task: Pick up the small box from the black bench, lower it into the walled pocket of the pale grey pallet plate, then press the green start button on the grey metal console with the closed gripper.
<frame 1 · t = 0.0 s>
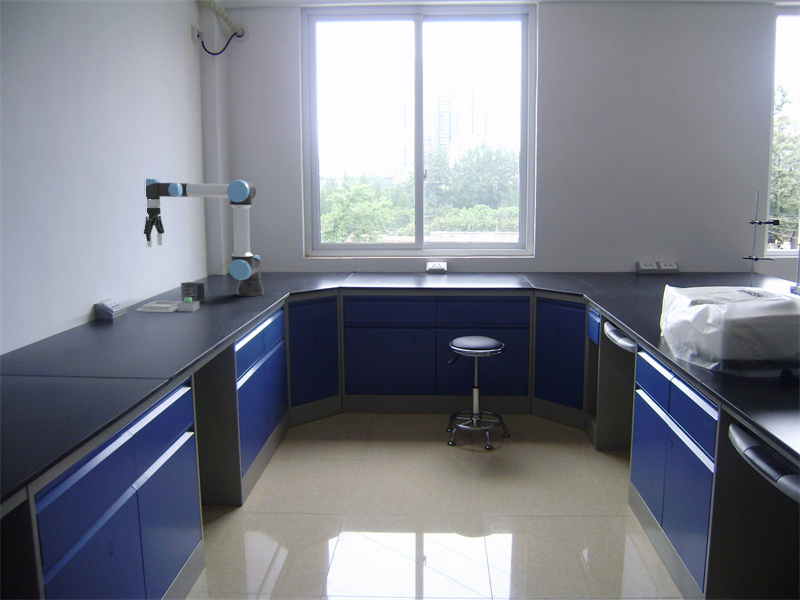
hand: (154, 246, 345), 28 cm above the worktop, fingers open, 13 cm apart
button: (188, 301, 309), point 4 cm above the worktop, slide at 0.0 cm
pallet: (162, 308, 313), on the worktop
small box: (193, 302, 332), on the worktop
console: (188, 309, 310), on the worktop
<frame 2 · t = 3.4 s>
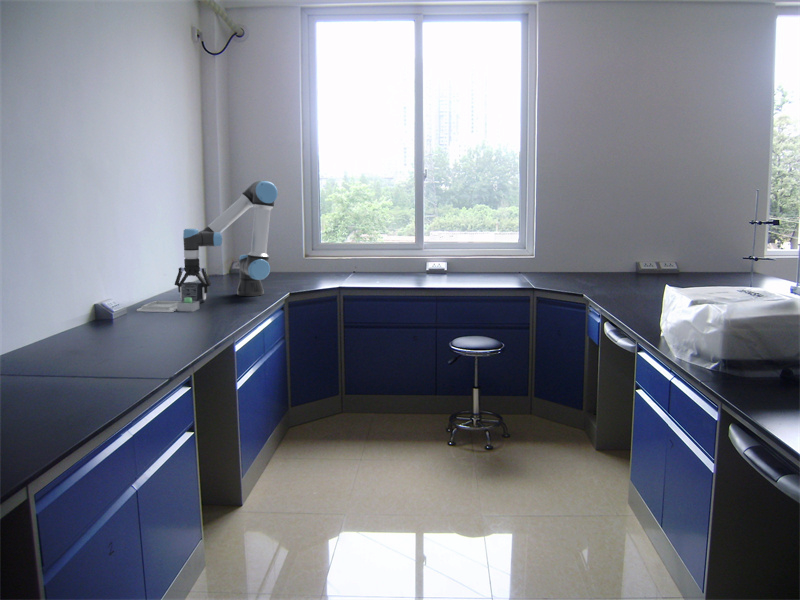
hand: (193, 298, 332), 2 cm above the worktop, fingers closed on small box, 11 cm apart
small box: (193, 302, 332), on the worktop, touching gripper
everything else where it was.
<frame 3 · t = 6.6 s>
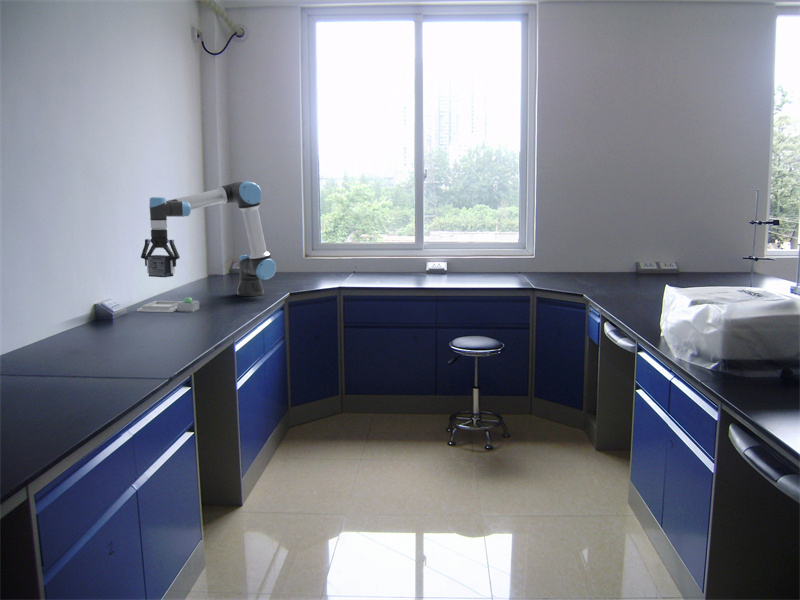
hand: (161, 273, 310), 18 cm above the worktop, fingers closed on small box, 11 cm apart
small box: (161, 276, 310), point 16 cm above the worktop, touching gripper
everything else where it was.
when the fingers open (5 cm above the worktop, at t = 9.6 s): small box drops 2 cm, resting on pallet.
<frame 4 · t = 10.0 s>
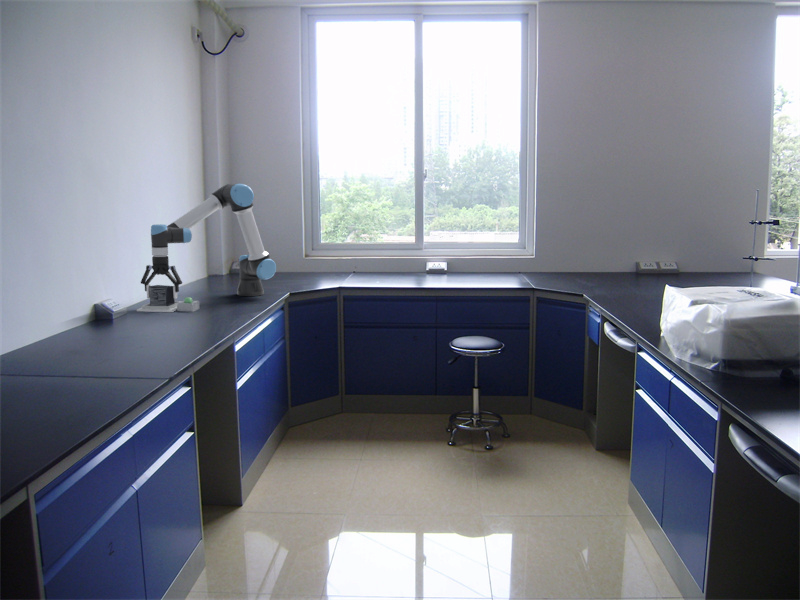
hand: (162, 298, 312), 5 cm above the worktop, fingers open, 13 cm apart
small box: (162, 306, 313), point 1 cm above the worktop, touching pallet
everything else where it was.
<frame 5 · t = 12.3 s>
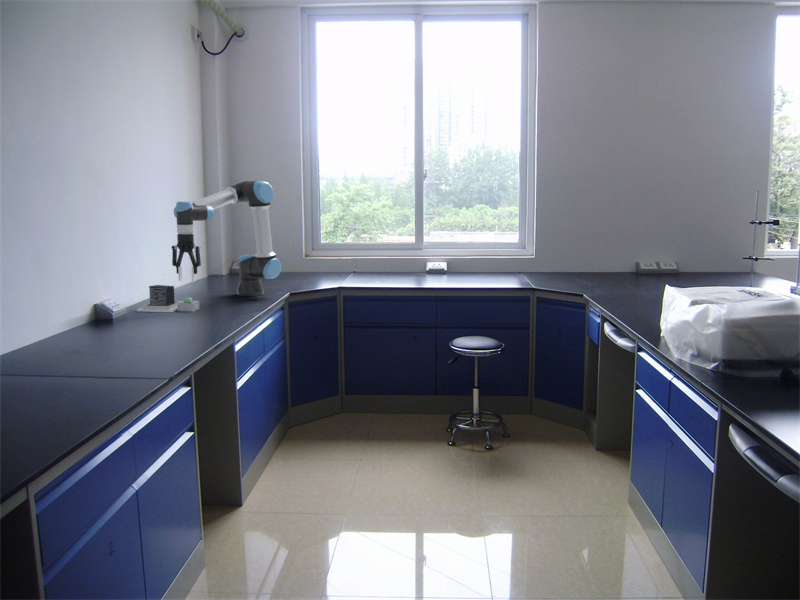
hand: (187, 280, 308), 15 cm above the worktop, fingers open, 6 cm apart
nothing on the worktop moved.
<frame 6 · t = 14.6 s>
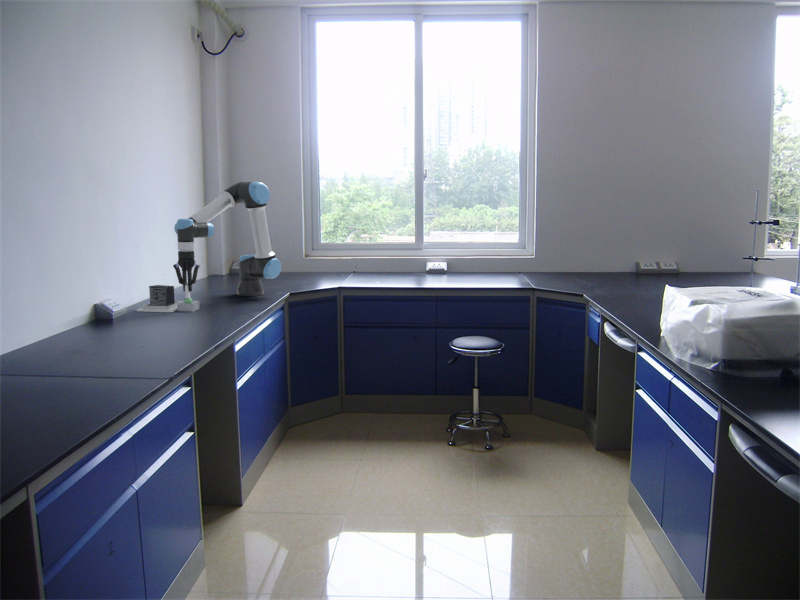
hand: (187, 298, 309), 6 cm above the worktop, fingers closed
button: (188, 302, 309), point 4 cm above the worktop, slide at 0.3 cm, touching gripper
everything else where it was.
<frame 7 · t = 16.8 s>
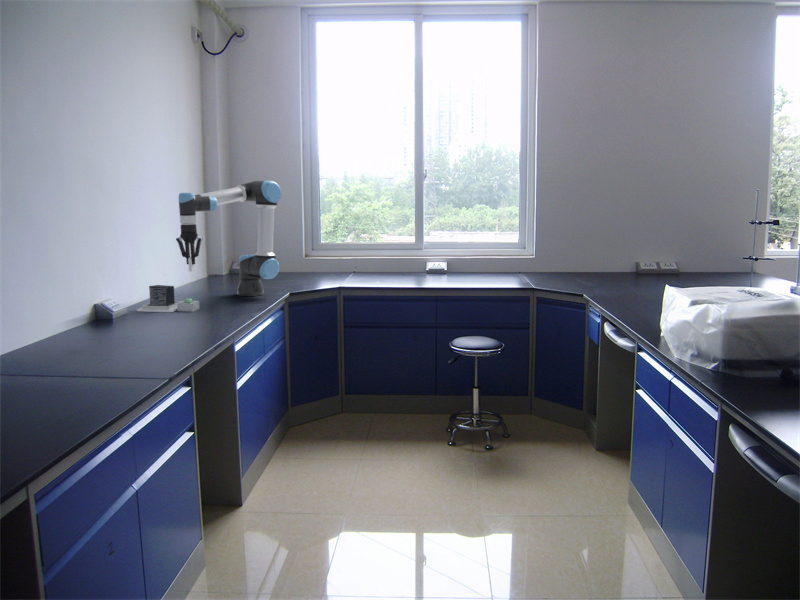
hand: (191, 270, 315), 19 cm above the worktop, fingers closed
button: (188, 303, 310), point 3 cm above the worktop, slide at 0.5 cm
everything else where it was.
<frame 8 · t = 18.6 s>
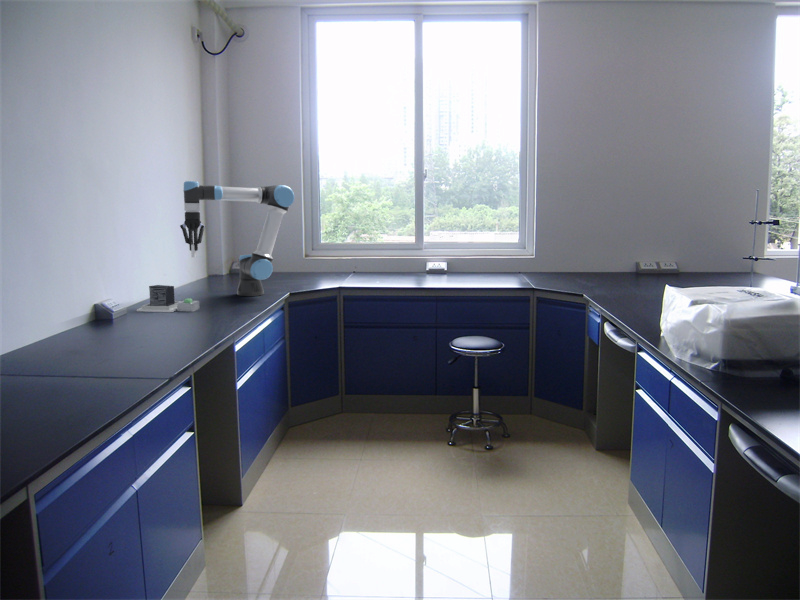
hand: (194, 256, 326), 24 cm above the worktop, fingers closed
nothing on the worktop moved.
at the end: small box 0.1 cm off-centre on the pallet, point 0.8 cm above the pallet's base; small box tilted 0°; the gripper is holding nothing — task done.
